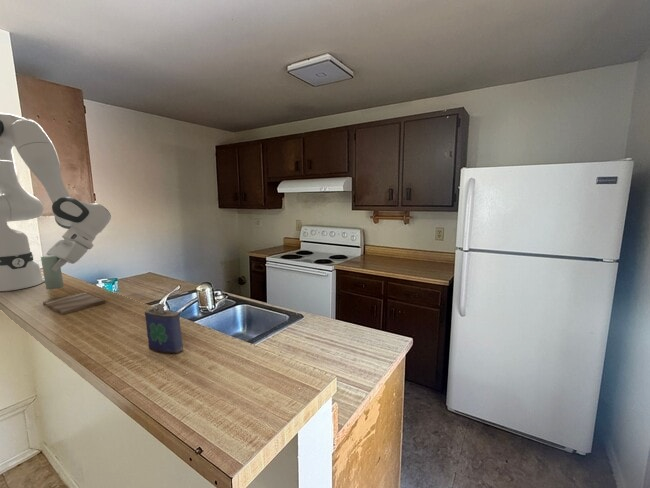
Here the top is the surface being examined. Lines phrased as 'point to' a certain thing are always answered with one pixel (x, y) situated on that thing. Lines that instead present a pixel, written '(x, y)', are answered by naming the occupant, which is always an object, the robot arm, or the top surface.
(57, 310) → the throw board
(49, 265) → the green rectangular block
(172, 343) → the flask
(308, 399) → the top surface
